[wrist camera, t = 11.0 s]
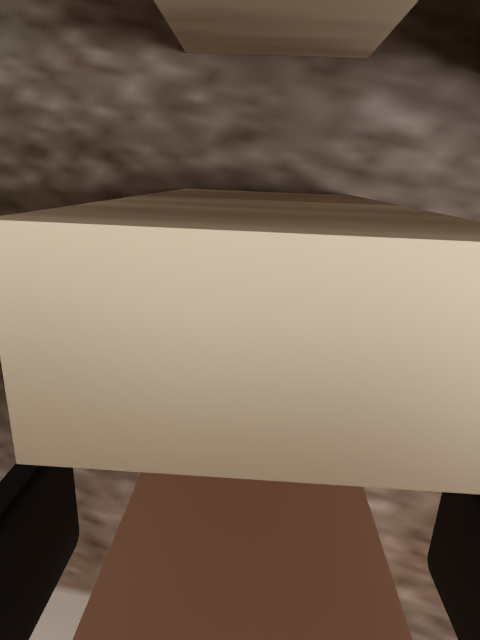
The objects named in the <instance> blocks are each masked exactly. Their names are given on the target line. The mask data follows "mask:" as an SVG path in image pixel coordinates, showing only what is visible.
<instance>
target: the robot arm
mask: <svg viewBox="0 0 480 640" xmlns="http://www.w3.org/2000/svg"><path fill="white" fill-rule="evenodd" d="M78 537H79V523H78V513H77V504H76V494H75V484H74V474H73V468H71V467H56V466H40V465H25V464H15V465H14V466H13V468H12V469H11V470H10V471H9V472H8V473H7V475H6V476H5V477H4V478H3V479H2V480H1V482H0V640H29V638H30V636H31V634H32V632H33V630H34V628H35V625H36V624H37V622H38V620H39V618H40V616H41V614H42V612H43V610H44V608H45V606H46V604H47V603H48V600H49V599H50V597H51V595H52V592H53V591H54V589H55V587H56V585H57V583H58V581H59V579H60V577H61V575H62V573H63V571H64V569H65V567H66V565H67V563H68V561H69V559H70V557H71V555H72V553H73V551H74V549H75V547H76V545H77V542H78ZM428 567H429V571H430V574H431V576H432V579H433V581H434V583H435V586H436V588H437V590H438V593H439V595H440V597H441V600H442V602H443V605H444V607H445V609H446V612H447V614H448V616H449V619H450V621H451V623H452V626H453V628H454V631H455V633H456V635H457V638H458V640H480V494H465V493H450V492H442V496H441V500H440V504H439V509H438V513H437V517H436V522H435V526H434V530H433V535H432V539H431V543H430V548H429V552H428Z"/></svg>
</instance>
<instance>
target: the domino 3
mask: <svg viewBox="0 0 480 640" xmlns="http://www.w3.org/2000/svg"><path fill="white" fill-rule="evenodd" d="M73 640H412V638H411V635H410V631H409V628H408V625H407V622H406V619H405V616H404V613H403V610H402V607H401V604H400V600H399V597H398V594H397V591H396V588H395V585H394V582H393V579H392V576H391V573H390V569H389V566H388V563H387V560H386V557H385V554H384V551H383V548H382V545H381V542H380V538H379V535H378V532H377V529H376V526H375V523H374V520H373V517H372V514H371V511H370V507H369V504H368V501H367V498H366V495H365V492H364V489H363V487H359V486H343V485H328V484H313V483H298V482H283V481H268V480H253V479H237V478H222V477H207V476H192V475H177V474H162V473H146V472H141V475H140V477H139V479H138V482H137V484H136V487H135V489H134V492H133V494H132V496H131V499H130V501H129V504H128V506H127V509H126V511H125V513H124V516H123V518H122V521H121V523H120V526H119V528H118V531H117V533H116V535H115V538H114V540H113V543H112V545H111V548H110V550H109V552H108V555H107V557H106V560H105V562H104V565H103V567H102V569H101V572H100V574H99V577H98V579H97V582H96V584H95V587H94V589H93V591H92V594H91V596H90V599H89V601H88V604H87V606H86V608H85V611H84V613H83V616H82V618H81V621H80V623H79V625H78V628H77V630H76V633H75V636H74V638H73Z"/></svg>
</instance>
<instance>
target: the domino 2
mask: <svg viewBox="0 0 480 640" xmlns="http://www.w3.org/2000/svg"><path fill="white" fill-rule="evenodd" d="M0 359H1V365H2V372H3V378H4V385H5V392H6V398H7V405H8V411H9V418H10V424H11V431H12V438H13V444H14V451H15V457H16V464H25V465H40V466H56V467H71V468H86V469H101V470H116V471H131V472H146V473H162V474H177V475H192V476H207V477H222V478H237V479H253V480H268V481H283V482H298V483H313V484H328V485H343V486H359V487H374V488H389V489H404V490H419V491H434V492H450V493H465V494H480V222H478V221H473V220H468V219H463V218H459V217H454V216H449V215H444V214H439V213H434V212H430V211H425V210H420V209H415V208H410V207H405V206H400V205H396V204H391V203H386V202H381V201H376V200H371V199H367V198H362V197H357V196H352V195H329V194H305V193H281V192H257V191H234V190H210V189H179V190H173V191H166V192H159V193H152V194H146V195H139V196H132V197H125V198H119V199H112V200H105V201H98V202H92V203H85V204H78V205H71V206H65V207H58V208H51V209H44V210H38V211H31V212H24V213H17V214H11V215H4V216H0Z"/></svg>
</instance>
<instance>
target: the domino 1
mask: <svg viewBox="0 0 480 640" xmlns="http://www.w3.org/2000/svg"><path fill="white" fill-rule="evenodd" d="M418 1H419V0H154V2H155V4H156V5H157V7H158V8H159V10H160V12H161V13H162V15H163V17H164V18H165V20H166V21H167V23H168V25H169V26H170V28H171V30H172V31H173V33H174V34H175V36H176V38H177V39H178V41H179V43H180V44H181V46H182V47H183V49H184V51H185V52H186V53H214V54H247V55H279V56H312V57H345V58H368V57H369V56H370V55H371V54H372V53H373V52H374V51H375V50H376V48H377V47H378V46H379V45H380V44H381V43H382V42H383V40H384V39H385V38H386V37H387V36H388V35H389V34H390V32H391V31H392V30H393V29H394V28H395V27H396V26H397V25H398V23H399V22H400V21H401V20H402V19H403V18H404V17H405V15H406V14H407V13H408V12H409V11H410V10H411V9H412V7H413V6H414V5H415V4H416V3H417V2H418Z"/></svg>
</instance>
